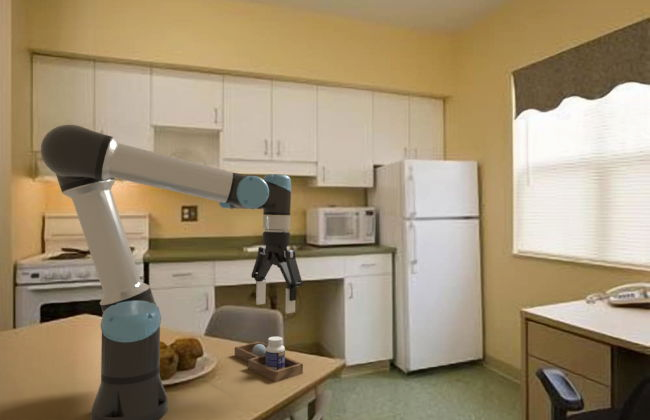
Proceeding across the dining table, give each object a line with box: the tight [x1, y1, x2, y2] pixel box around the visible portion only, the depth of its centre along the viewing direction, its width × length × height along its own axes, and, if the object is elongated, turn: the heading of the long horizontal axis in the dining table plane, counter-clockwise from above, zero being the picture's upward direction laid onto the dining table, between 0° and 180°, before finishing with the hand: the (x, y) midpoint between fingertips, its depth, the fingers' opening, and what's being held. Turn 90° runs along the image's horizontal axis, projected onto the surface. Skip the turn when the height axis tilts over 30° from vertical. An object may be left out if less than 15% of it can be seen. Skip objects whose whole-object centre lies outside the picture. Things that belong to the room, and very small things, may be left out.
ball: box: [253, 344, 266, 357], centre depth 130 cm, size 4×4×4 cm
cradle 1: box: [234, 341, 269, 364], centre depth 130 cm, size 9×13×3 cm
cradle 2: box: [247, 355, 304, 383], centre depth 120 cm, size 9×13×3 cm
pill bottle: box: [265, 336, 286, 371], centre depth 120 cm, size 5×5×9 cm
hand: (274, 308), depth 120 cm, fingers open, 13 cm apart
